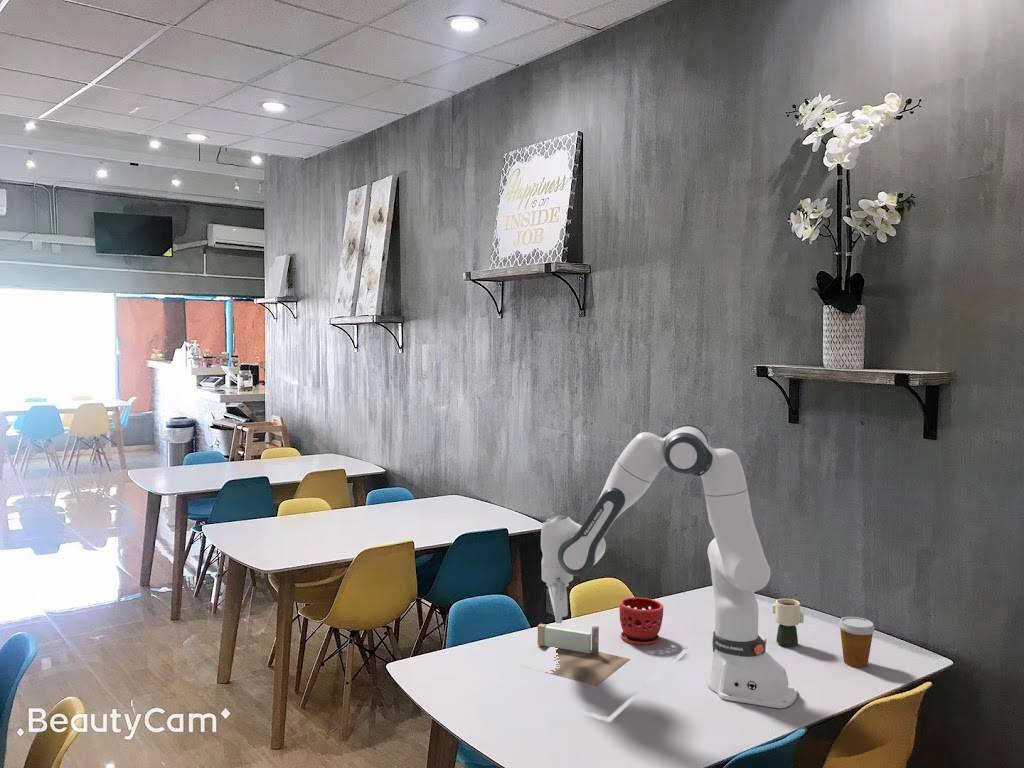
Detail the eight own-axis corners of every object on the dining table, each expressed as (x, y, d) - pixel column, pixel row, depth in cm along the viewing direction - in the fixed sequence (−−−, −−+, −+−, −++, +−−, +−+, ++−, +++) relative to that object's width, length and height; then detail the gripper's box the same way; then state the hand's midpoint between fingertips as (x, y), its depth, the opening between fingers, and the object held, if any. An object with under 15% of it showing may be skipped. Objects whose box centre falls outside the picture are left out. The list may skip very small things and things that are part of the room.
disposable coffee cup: (835, 666, 226) (836, 624, 226) (839, 654, 235) (840, 614, 234) (872, 672, 222) (873, 630, 221) (875, 660, 230) (876, 619, 230)
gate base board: (630, 662, 229) (630, 631, 228) (597, 689, 211) (597, 655, 210) (557, 645, 242) (557, 615, 241) (519, 669, 224) (520, 637, 223)
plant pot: (650, 653, 235) (650, 613, 235) (611, 643, 243) (611, 604, 243) (670, 640, 246) (670, 601, 245) (632, 630, 254) (632, 593, 253)
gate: (589, 653, 231) (589, 633, 231) (537, 644, 238) (537, 625, 238) (591, 651, 233) (591, 631, 233) (540, 642, 240) (540, 623, 239)
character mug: (810, 647, 240) (811, 604, 239) (794, 652, 236) (795, 609, 235) (779, 636, 249) (780, 595, 248) (764, 641, 245) (765, 599, 244)
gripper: (572, 584, 215) (573, 634, 216) (565, 563, 236) (566, 609, 237) (548, 585, 215) (550, 635, 216) (543, 563, 236) (545, 610, 236)
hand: (558, 621), depth 227 cm, fingers closed
